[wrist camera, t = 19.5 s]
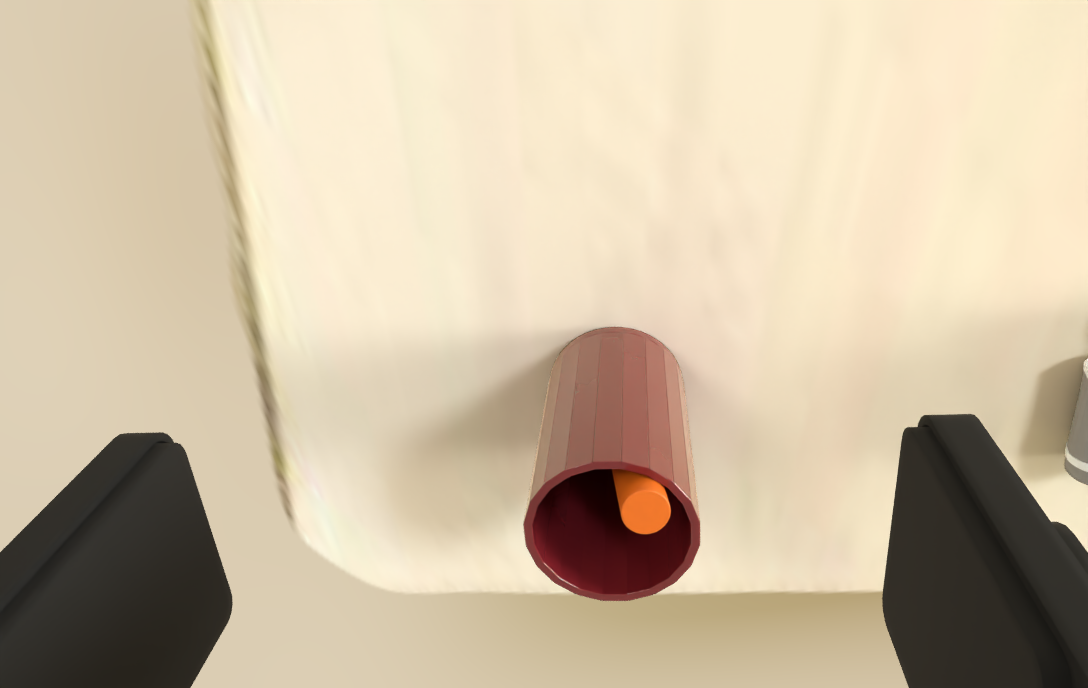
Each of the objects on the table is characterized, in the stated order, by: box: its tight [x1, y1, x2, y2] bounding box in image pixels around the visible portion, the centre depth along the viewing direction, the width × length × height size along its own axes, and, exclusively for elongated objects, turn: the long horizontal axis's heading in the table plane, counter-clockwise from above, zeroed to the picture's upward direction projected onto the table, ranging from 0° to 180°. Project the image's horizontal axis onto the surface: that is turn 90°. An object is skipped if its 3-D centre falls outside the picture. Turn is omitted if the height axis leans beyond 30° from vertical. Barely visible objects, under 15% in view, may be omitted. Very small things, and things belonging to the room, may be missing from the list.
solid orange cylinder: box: [612, 469, 671, 534], centre depth 36 cm, size 2×2×12 cm
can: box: [523, 327, 700, 601], centre depth 37 cm, size 7×7×12 cm
